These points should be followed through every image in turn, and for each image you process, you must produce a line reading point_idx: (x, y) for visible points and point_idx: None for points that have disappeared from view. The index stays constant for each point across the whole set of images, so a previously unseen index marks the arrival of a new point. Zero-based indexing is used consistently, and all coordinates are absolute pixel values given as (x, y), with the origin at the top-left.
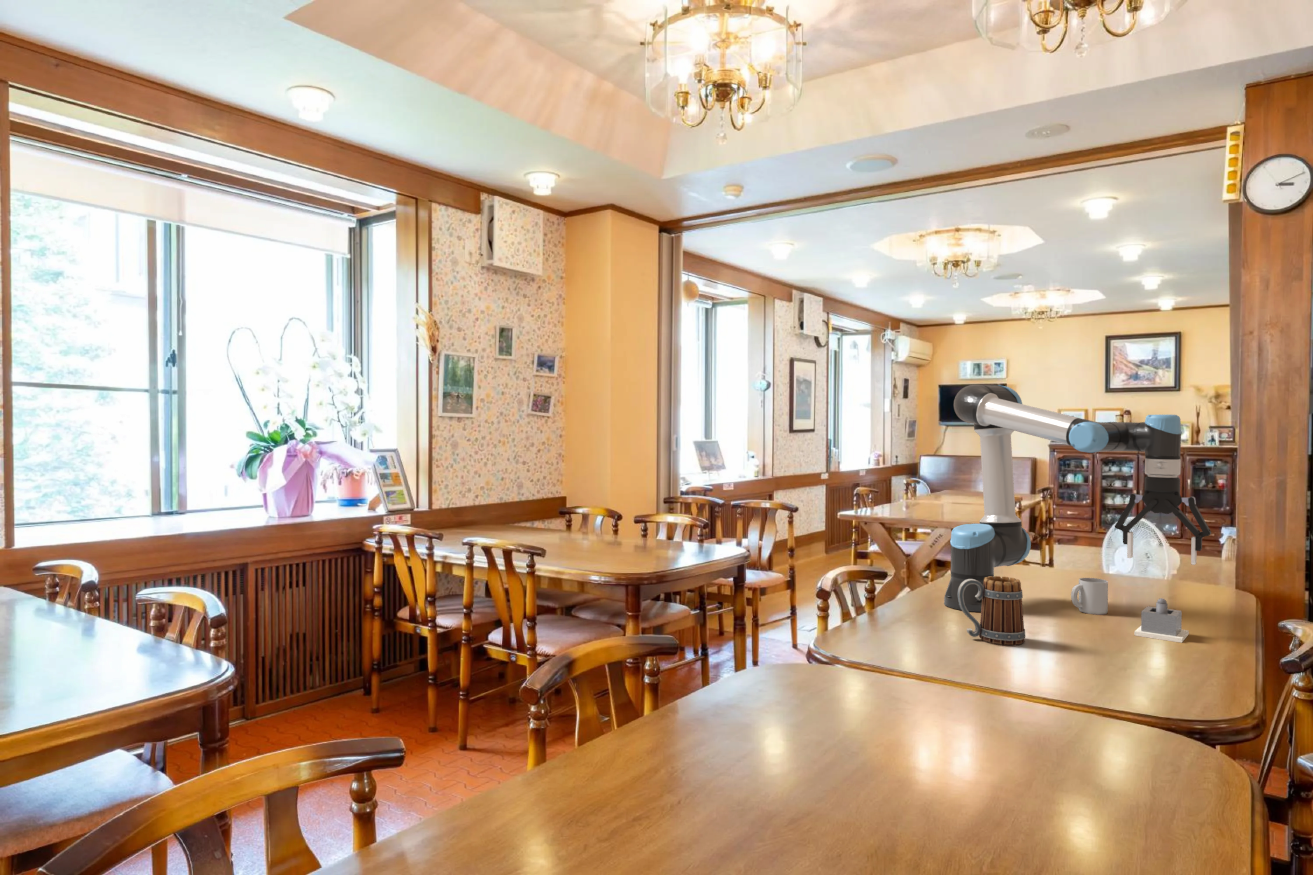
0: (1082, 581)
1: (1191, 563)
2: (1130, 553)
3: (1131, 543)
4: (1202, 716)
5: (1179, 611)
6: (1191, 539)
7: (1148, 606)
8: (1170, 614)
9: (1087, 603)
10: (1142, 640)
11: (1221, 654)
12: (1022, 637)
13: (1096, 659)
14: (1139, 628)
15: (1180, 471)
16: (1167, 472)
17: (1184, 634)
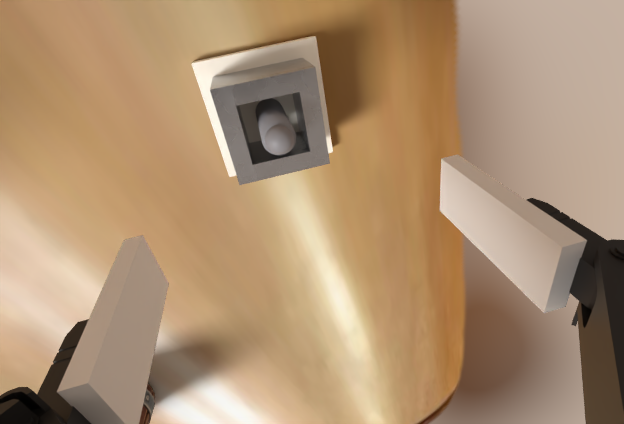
0: None
1: (444, 213)
2: (163, 303)
3: (145, 339)
4: (428, 410)
5: (314, 85)
6: (535, 302)
7: (214, 91)
8: (311, 155)
9: None
10: (264, 201)
11: (412, 177)
12: (153, 401)
13: (275, 360)
14: (219, 134)
15: None
16: None
17: (323, 100)
